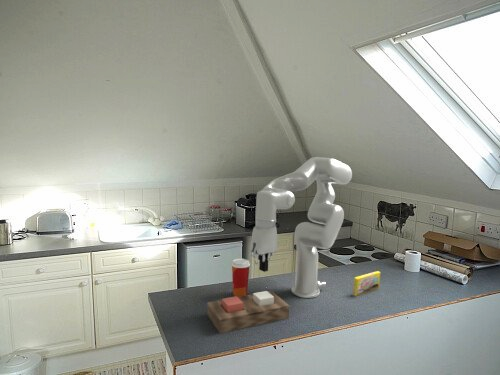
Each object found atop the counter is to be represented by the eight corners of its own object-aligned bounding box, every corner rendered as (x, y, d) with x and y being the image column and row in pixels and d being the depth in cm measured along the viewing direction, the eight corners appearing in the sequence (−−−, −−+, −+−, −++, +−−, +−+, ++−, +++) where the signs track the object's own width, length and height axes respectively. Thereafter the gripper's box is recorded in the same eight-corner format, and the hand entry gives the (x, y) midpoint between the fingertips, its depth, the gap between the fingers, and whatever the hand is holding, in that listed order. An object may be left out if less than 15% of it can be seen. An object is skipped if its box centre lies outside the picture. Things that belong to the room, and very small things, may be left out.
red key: (236, 303, 139) (236, 296, 139) (242, 310, 134) (243, 302, 134) (221, 306, 137) (222, 298, 136) (227, 313, 132) (227, 305, 131)
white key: (266, 297, 145) (266, 290, 145) (273, 304, 140) (274, 296, 139) (252, 300, 142) (253, 293, 142) (259, 307, 137) (260, 299, 137)
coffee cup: (239, 288, 164) (239, 256, 162) (253, 294, 159) (254, 261, 156) (226, 294, 157) (226, 261, 155) (240, 300, 152) (241, 266, 150)
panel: (271, 302, 151) (271, 291, 150) (288, 317, 139) (289, 305, 138) (207, 315, 139) (207, 302, 138) (219, 333, 127) (220, 319, 126)
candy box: (356, 296, 159) (357, 278, 157) (352, 295, 160) (353, 277, 159) (379, 289, 168) (380, 271, 166) (375, 287, 169) (376, 270, 168)
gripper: (272, 219, 144) (271, 263, 146) (243, 224, 134) (242, 271, 137) (286, 223, 138) (284, 269, 141) (257, 228, 129) (255, 277, 131)
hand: (263, 270), depth 139 cm, fingers closed
